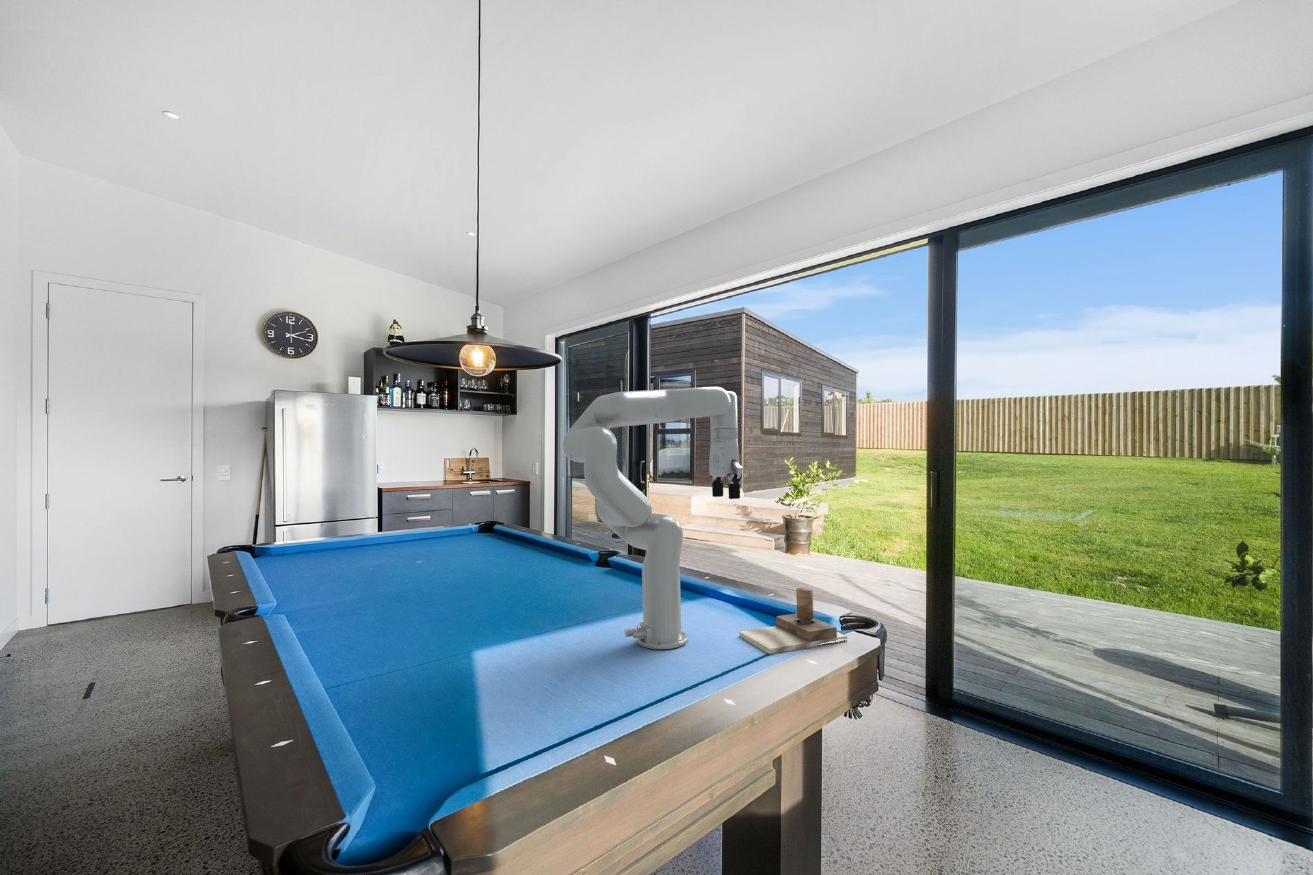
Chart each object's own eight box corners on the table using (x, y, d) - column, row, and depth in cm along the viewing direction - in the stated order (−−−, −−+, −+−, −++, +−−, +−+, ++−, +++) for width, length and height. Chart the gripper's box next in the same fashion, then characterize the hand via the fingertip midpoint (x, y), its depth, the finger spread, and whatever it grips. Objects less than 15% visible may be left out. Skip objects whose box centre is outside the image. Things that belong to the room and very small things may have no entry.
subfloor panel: (769, 654, 127) (768, 637, 127) (739, 636, 140) (739, 621, 140) (847, 640, 135) (846, 625, 135) (812, 625, 148) (811, 611, 148)
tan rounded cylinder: (803, 635, 136) (802, 592, 137) (794, 630, 140) (793, 588, 140) (817, 632, 138) (815, 590, 138) (807, 628, 141) (806, 587, 142)
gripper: (698, 437, 160) (700, 496, 160) (726, 434, 144) (728, 500, 143) (722, 437, 163) (723, 495, 162) (752, 434, 147) (753, 499, 146)
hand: (725, 497), depth 153 cm, fingers open, 9 cm apart
